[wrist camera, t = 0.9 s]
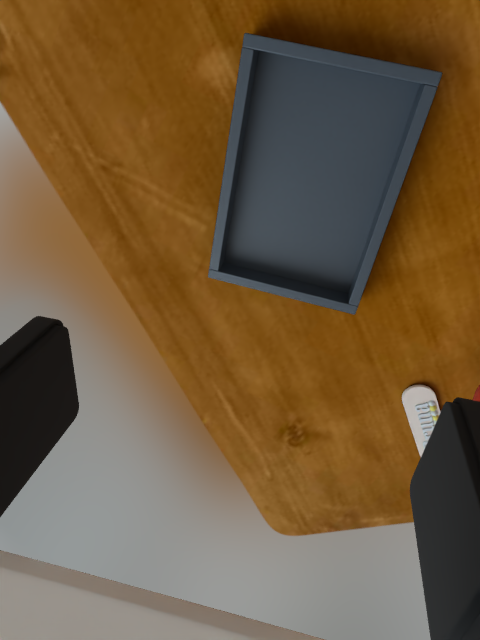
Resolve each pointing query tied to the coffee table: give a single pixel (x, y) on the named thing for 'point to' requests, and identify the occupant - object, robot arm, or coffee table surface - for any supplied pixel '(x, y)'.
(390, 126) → the tray
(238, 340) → the coffee table surface
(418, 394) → the keychain
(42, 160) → the coffee table surface
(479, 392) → the apple
